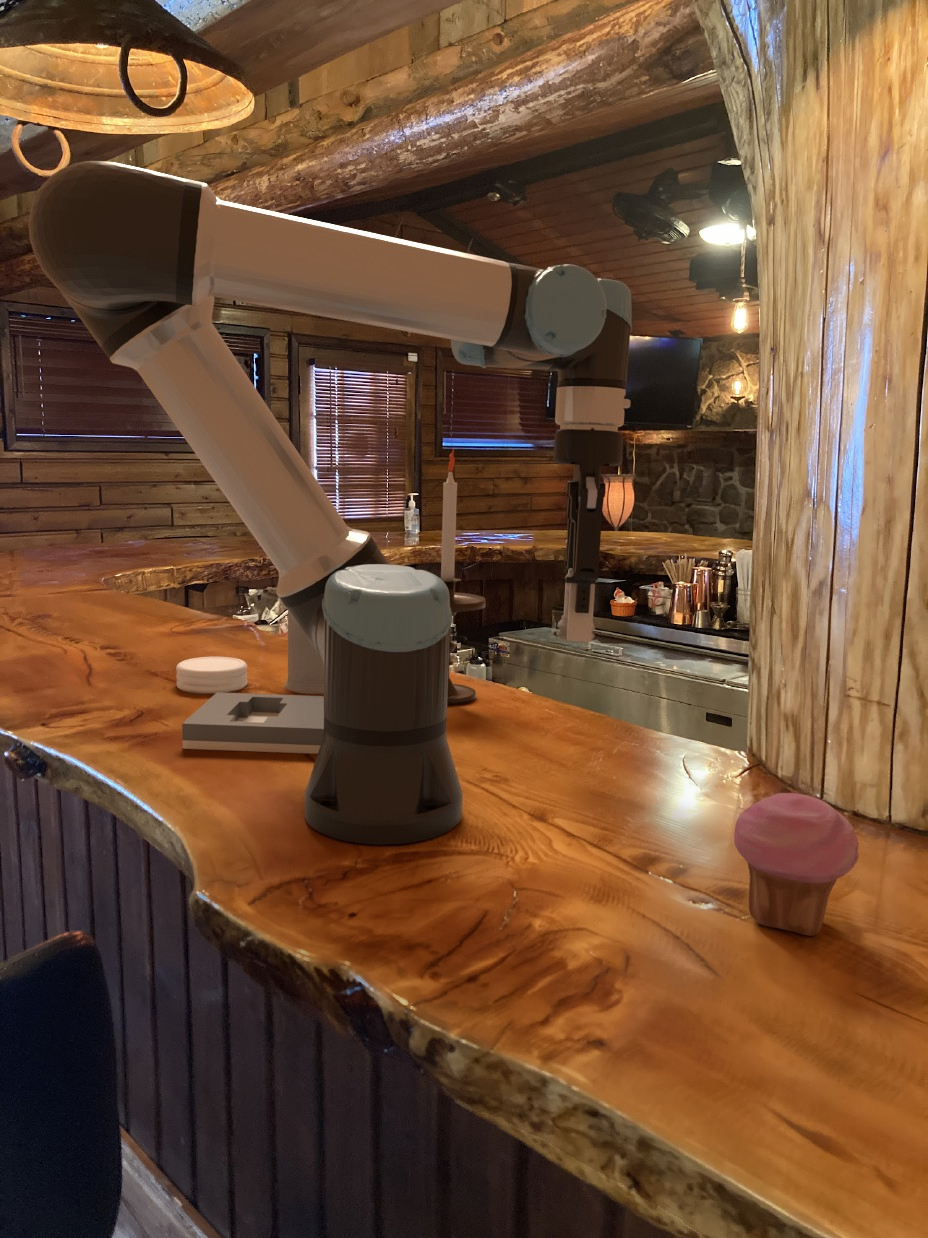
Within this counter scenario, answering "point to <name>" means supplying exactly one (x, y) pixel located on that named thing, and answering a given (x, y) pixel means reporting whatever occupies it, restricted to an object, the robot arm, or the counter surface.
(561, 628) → the rook chess piece
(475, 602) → the candlestick
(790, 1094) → the counter surface
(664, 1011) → the counter surface
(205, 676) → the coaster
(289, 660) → the glass holder
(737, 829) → the cupcake
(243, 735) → the grey panel with recess
